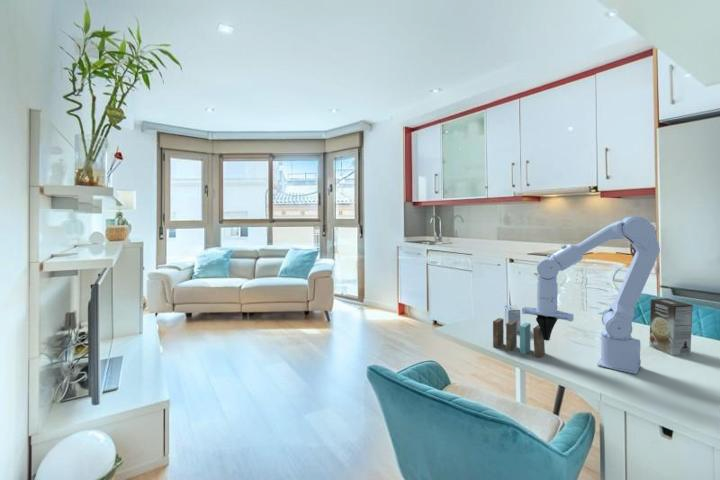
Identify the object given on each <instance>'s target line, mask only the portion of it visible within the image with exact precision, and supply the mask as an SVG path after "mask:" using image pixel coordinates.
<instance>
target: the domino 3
mask: <svg viewBox="0 0 720 480" xmlns="http://www.w3.org/2000/svg"><path fill="white" fill-rule="evenodd" d="M532 330H533V332H532V336H533V347H534V348H533V349H534V351H533V352H534V357H536V358H542V357H543V355H544V354H545V353H546V349H545V346H546V345H545V340H543V335H542V331H541V329H540V326H539V324H537V325H536V326H535V327H533V328H532Z"/></svg>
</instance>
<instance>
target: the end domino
mask: <svg viewBox="0 0 720 480" xmlns="http://www.w3.org/2000/svg"><path fill="white" fill-rule="evenodd" d="M504 335H505V334H504V318H500V317H498V318H496V319H495V320H493V321H492V347H493V348H496V349H499V348H500V347H501V346H503V345H504V339H505V338H504Z"/></svg>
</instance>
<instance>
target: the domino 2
mask: <svg viewBox="0 0 720 480" xmlns="http://www.w3.org/2000/svg"><path fill="white" fill-rule="evenodd" d="M530 351H531V323H530V322H524V323H523V324H520V332H519V354H521V355H526V354H528V352H530Z"/></svg>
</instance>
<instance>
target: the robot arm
mask: <svg viewBox="0 0 720 480" xmlns="http://www.w3.org/2000/svg"><path fill="white" fill-rule="evenodd" d="M624 239H627V240H628V242H630V244H631V245H632V247H633V248H634V250H635V253H634V255H633V257H632V259H631V262H630V264H629V267H628V269H627V272H626V274H625V276H624V278H623V281H622V283H621V285H620V288H619V291H618V293H617V294H616V298H615V299H614V301H613V302H612V303H611V305H610V306H609V308H608V309H607V311H605V312H603V314H602V316H601V323H602V325H603V326H604V329H603V330H602V331H601V335H600V336H601V337H600V339H601V345H600V359H599V361H598V362H597V367H603V368H607V369H610V370H611V369H612V370H616V371H621V372H625V373H630V374H634V375H635V374H636V375H637V374H638V372H639V369H640V366H641V363H642V361H641V340H640V339H638V338H634V337H632V333H633V324H632V323H633V320H634V317H635V309H636V306H637V303H638V301H639V299H640V297H641V294H642V293H643V291H644V288H645V286H646V284H647V281H648V279H649V276H650V274H651V273H652V270H653V268H654V265H655V264H656V261H657V259H658V257H659V255H660V252H661V248H660V245H659V241H658V237H657V235H656V228H655V226H654V225H653V224H652V223H651V222H650V221H649V220H648V219H647V218H646V217H643V216H638V215H637V216H635V215H628V216H625V217H623V218H621V219H620V220H617V221H614V222H612V223H610V224H608V225H606V226H604V227H603V228H602V229H600V230H598V231H596V232H595V233H593V234H592V235H590V236H588V237H587V238H585V239H584V240H582V241H581V242H579V243H578V244H572V243H569V244H567V245H566V244H564V245H562V246H561V249H559V250H558V251H555V252H554V253H552V254H550V253H549V254H547V256H546V257H547V258H543V259H541V260H539V262H538V264H537V266H536V270H537V273H538V275H537V282H536V307H527V306H523V307H522V309H521V310H522V311H521V313H522V315H530V316H536V318H535V320H536V322H537V325H539V326H540V329H541V331H542V335H543V340H544V341H547V342H548V341H550V340H551V335H552V332H553V329H554V327H555V325H556V323H557V322H558V320H563V321H568V322H573V321H574V320H575V317H574V313H569V312H565V311H561V310H558V289H559V288H558V285H559V284H558V282H557V281H558V279H557V276H558V275H559V272H560V271H561V272H562V271H565V270H567V269H568V268H570V267H572V266H573V265H575V264H577V263H579V262H581V261H583V256H584V254H586V253H587V252H589V251H592V250H593V249H595V248H597V247H599V246H601V245H602V244H604V243H607V242H609V241H610V240H624Z"/></svg>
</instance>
